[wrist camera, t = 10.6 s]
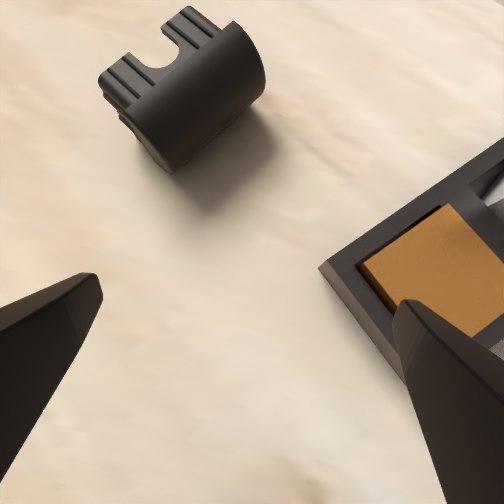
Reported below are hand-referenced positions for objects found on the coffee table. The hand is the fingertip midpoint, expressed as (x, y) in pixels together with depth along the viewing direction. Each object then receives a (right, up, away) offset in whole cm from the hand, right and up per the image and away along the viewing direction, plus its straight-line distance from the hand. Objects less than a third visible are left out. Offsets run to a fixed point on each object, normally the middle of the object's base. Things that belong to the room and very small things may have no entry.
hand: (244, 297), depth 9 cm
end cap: (-5, +12, +17) cm, 22 cm away
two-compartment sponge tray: (+16, +2, +14) cm, 21 cm away
